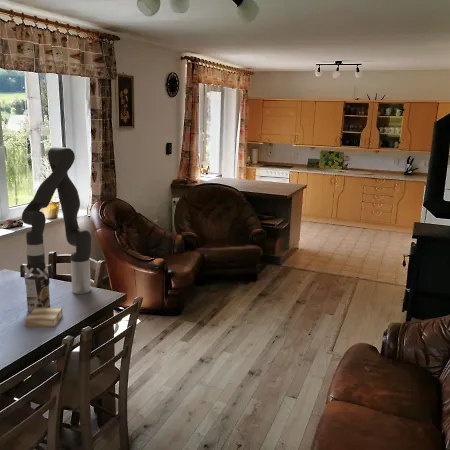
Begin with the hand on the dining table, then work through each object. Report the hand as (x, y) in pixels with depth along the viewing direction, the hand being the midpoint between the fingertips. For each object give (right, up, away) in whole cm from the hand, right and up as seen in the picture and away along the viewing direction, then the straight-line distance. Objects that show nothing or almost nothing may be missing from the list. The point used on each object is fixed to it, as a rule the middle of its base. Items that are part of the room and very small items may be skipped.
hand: (37, 285), depth 209 cm
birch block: (+7, -15, -9) cm, 19 cm away
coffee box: (0, -11, +3) cm, 12 cm away
